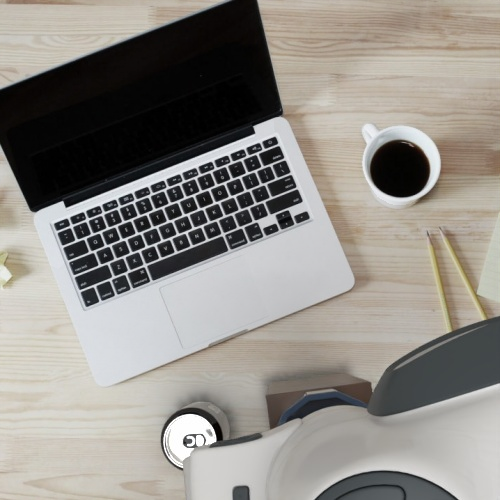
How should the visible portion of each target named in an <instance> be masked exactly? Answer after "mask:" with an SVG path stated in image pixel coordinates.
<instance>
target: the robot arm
mask: <svg viewBox="0 0 500 500" xmlns="http://www.w3.org/2000/svg"><path fill="white" fill-rule="evenodd" d="M372 391H373V393H372V396H371V398H370V401H369V404H368V408H363V407H358V406H349V405H341V406H332V407H327V408H324V409H320V410H318V411H315V412H313V413H311V414H309V415H307V416H306V417H304V418H303V419H299V418H297V419H294V420H292V421H289V422H287V423H285V424H283V425H281V426H278V427H276V428H274V429H271V430H270V429H269V430H265V431H263V432H255V433H252V434H247V435H243V436H240V437H235V438H228V440H223V441H217V442H213V443H211V444H206V445H201V446H198V447H196V448H194V449H193V450H192V451H191V452H190V455H189V456H187V457H185V458H184V460H183V471H182V473H183V483H184V494H185V500H500V315H498V316H494V317H490V318H487V319H483V320H479V321H477V322H474V323H473V322H472V323H471V324H468V325H465V326H462V327H460V328H456V329H454V330H451V331H450V332H447V333H444V334H443V335H440V336H438V337H436V338H434V339H432V340H430V341H428V342H425V343H424V344H422V345H420V346H418V347H416V348H414V349H413V350H411V351H409V352H408V353H406V354H405V355H402V356H401V357H400V358H398V359H396V360H395V361H394V362H393V363H390V364H389V366H387V367H386V368H385V370H384V371H383V373H382V375H381V376H380V378H379V379H378V382H377V383H376V385H375V387H374V389H373V390H372Z"/></svg>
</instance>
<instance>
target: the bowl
mask: <svg viewBox="0 0 500 500" xmlns="http://www.w3.org/2000/svg"><path fill="white" fill-rule="evenodd" d="M341 405H349V406H358V407H363V408H368V406H367V405H366V404H365V403H364V402H363V401H361V400H359V399H358V398H355V397H353V396H351V395H348V394H346V393H344V392H341V391H339V390H336V389H334V388H327V389H319V390H311V391H305V392H303V393H302V394H301V395H299V396H298V397H297V398H296V399H294V400H293V401H292V402H290V403H289V404H288V405H287V406H285V407H284V408H283V409H282V411H281V414H280V416H279V419H278V421H277V424H276V426H275V428H276V427H278V426H281V425H283V424H285V423H287V422H289V421H292V420H294V419H297V418H299V419H303V418H304V417H306V416H307V415H309V414H311V413H313V412H315V411H318V410H320V409H324V408H327V407H332V406H341Z"/></svg>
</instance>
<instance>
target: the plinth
mask: <svg viewBox="0 0 500 500" xmlns="http://www.w3.org/2000/svg"><path fill="white" fill-rule="evenodd" d="M372 385H373V384H372V381H369V380H366V379H363V378H361V377H357V376H354V375H351V374H348V373H345V372H339V373H332V374H325V375H318V376H317V375H315V376H309V377H302V378H293V379H287V380H279V381H271V382H270V385H269V387H268V389H267V392H266V394H265V401H266V408H267V409H266V410H267V416H268V424H269V430H271V429H274V428H275V426H276V424H277V421H278V419H279V416H280V414H281V411H282V409H283V408H284V407H285V406H287V405H288V404H289V403H290V402H292V401H293V400H294V399H296V398H297V397H298V396H299V395H301V394H302V393H303V392H305V391H311V390H319V389H327V388H334V389H336V390H339V391H341V392H344V393H346V394H348V395H351V396H353V397H355V398H358V399H359V400H361V401H363V402H364V403H365V404H366V405H367V406H368V404H369V401H370V398H371V396H372V393H373V391H374V390H373V386H372Z"/></svg>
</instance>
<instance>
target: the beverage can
mask: <svg viewBox="0 0 500 500" xmlns="http://www.w3.org/2000/svg"><path fill="white" fill-rule="evenodd" d="M230 429H231V427H230V421H229V419H228V417H227V415H226V413H225V412H224V411H223V410H222V409H221V408H220V407H219V406H218V405H216V404H214V403H212V402H208V401H196V402H192V403H189V404H187V405H185V406H183V407H182V408H180V409H178V410H176V411H174V412H173V413H172V414H171V415H170V416H169V417H168V418H167V419H166V421H165V422H164V424H163V426H162V428H161V433H160V448H161V451H162V454H163V456H164V458H165V459H166V460H167V462H168V463H169V464H170V465H171V466H172V467H174V468H176V469H177V470H179V471H182V472H183V460H184V458H185V457H187V456H189V455H190V452H191V451H192V450H193V449H194V448H196V447H198V446H201V445H206V444H211V443H213V442H217V441H223V440H229V439H230V431H231V430H230Z"/></svg>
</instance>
